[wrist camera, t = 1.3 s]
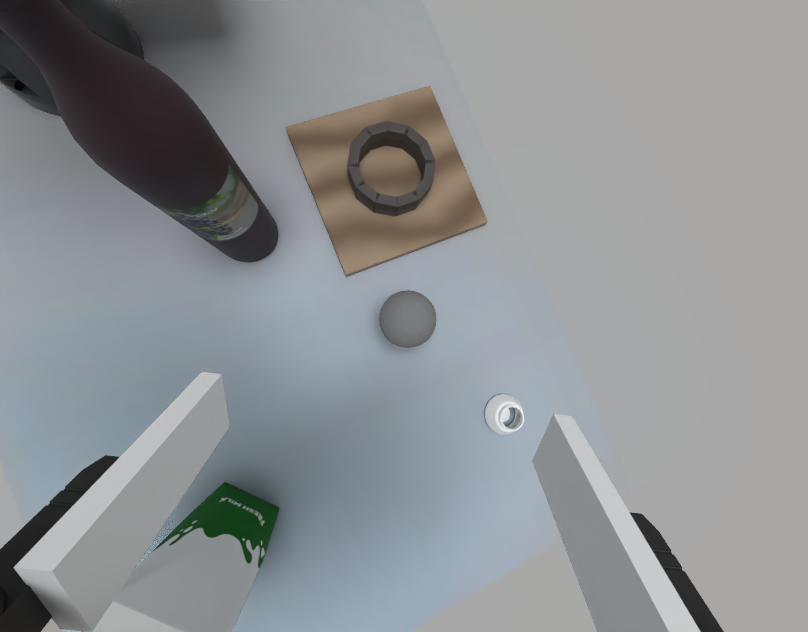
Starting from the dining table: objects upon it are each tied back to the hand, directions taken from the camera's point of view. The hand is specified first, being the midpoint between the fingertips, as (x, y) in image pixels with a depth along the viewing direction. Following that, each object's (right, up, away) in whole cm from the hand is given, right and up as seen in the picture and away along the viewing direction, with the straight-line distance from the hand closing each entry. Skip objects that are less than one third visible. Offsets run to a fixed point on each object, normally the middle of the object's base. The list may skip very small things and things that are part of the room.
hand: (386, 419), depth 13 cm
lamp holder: (-1, +22, +30) cm, 37 cm away
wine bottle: (-18, +14, +27) cm, 35 cm away
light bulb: (0, +3, +29) cm, 29 cm away
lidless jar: (+13, -9, +30) cm, 34 cm away
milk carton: (-18, -19, +24) cm, 36 cm away
